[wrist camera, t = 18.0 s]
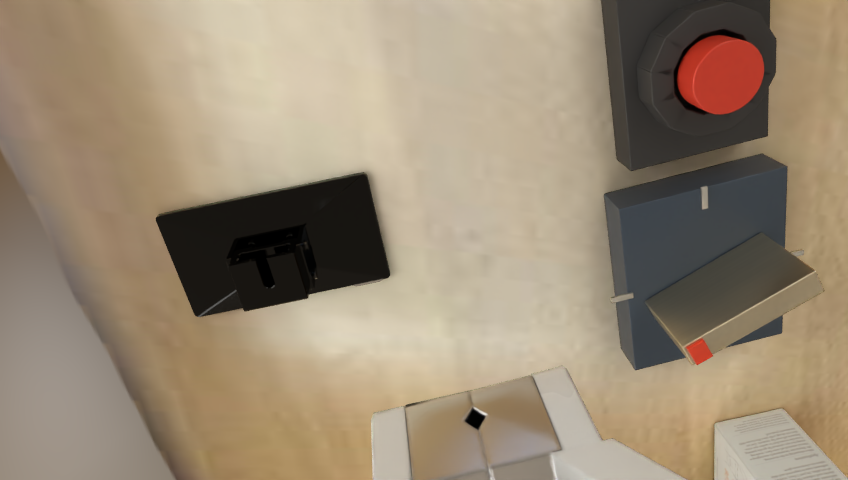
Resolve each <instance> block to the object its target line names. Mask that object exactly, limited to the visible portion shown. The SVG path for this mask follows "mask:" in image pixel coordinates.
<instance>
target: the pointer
mask: <svg viewBox="0 0 848 480" xmlns="http://www.w3.org/2000/svg"><path fill="white" fill-rule="evenodd" d="M822 292H824V288H823V286H822V284H821V281H820V279H819V277H818V274H817V272H816V271H815V270H814V269H813V268H811V267H810V266H808V265H807V264H806V263H804V262H803V261H801V260H800V259H799V258H797V257H796V256H794V255H793V254H791V253H790V252H789V251H787V250H786V249H784V248H783V247H782V246H780V245H779V244H777V243H776V242H775V241H773V240H772V239H770V238H769V237H768V236H766V235H765V234H763V233H762V232H761V233H759V234H757V235H756V236H754V237H752V238H751V239H749V240H747V241H746V242H744V243H742V244H741V245H739V246H737V247H735V248H734V249H732V250H730V251H729V252H727V253H725V254H724V255H722V256H720V257H719V258H717V259H715V260H714V261H712V262H710V263H708V264H707V265H705V266H703V267H702V268H700V269H698V270H697V271H695V272H693V273H692V274H690V275H688V276H687V277H685V278H683V279H681V280H680V281H678V282H676V283H675V284H673V285H671V286H670V287H668V288H666V289H665V290H663V291H661V292H660V293H658V294H656V295H654V296H653V297H651V298H649V299H648V300H646V301H645V303H646V305H647V306H648V308H649V310H650V311H651V313H652V315H653V316H654V318H655V319H656V320H657V322H658V323H659V324H660V325H661V327H662V328H663V329H664V330H665V332H666V333H667V334H668V335H669V337H670V338H671V339H672V341H673V342H674V343H675V344H676V346H677V347H678V348H679V349H680V351H681V352H682V353H683V354H684V356H685V357H686V358H687V359H688V361H689V362H690V363H691V364H692V365H695V364H697V365H698V364H700V363H702V362H704V361H705V360H707V359H709V358H711V357H712V356H713V355H712V354H714V353H716V352H718V351H720V350H721V349H723V348H725V347H727V346H728V345H730V344H732V343H734V342H736V341H737V340H739V339H741V338H743V337H744V336H746V335H748V334H750V333H751V332H753V331H755V330H757V329H759V328H760V327H762V326H764V325H766V324H767V323H769V322H771V321H773V320H774V319H776V318H778V317H780V316H782V315H783V314H785V313H787V312H789V311H790V310H792V309H794V308H796V307H797V306H799V305H801V304H803V303H805V302H806V301H808V300H810V299H812V298H813V297H815V296H817V295H819V294H821V293H822Z"/></svg>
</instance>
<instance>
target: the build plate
mask: <svg viewBox="0 0 848 480" xmlns="http://www.w3.org/2000/svg"><path fill="white" fill-rule="evenodd" d="M156 222H157V224H158V227H159V229H160V232H161V234H162V236H163V239H164V241H165V244H166V246H167V249H168V251H169V253H170V256H171V258H172V261H173V263H174V266H175V268H176V271H177V273H178V275H179V278H180V280H181V283H182V285H183V288H184V290H185V292H186V295H187V297H188V300H189V302H190V305H191V307H192V310H193V312H194V314H195V316H197V317H201V316H206V315H211V314H216V313H221V312H226V311H230V310H235V309H240V308H243V310H244V311H249V310H254V309H259V308H264V307H269V306H274V305H278V304H283V303H288V302H293V301H298V300H302V299H307V298H308V296H309V294H312V293H317V292H322V291H327V290H332V289H337V288H341V287H346V286H351V285H354V286H360V285H365V284H369V283H374V282H379V281H381V280H382V279H385V278H388V277H389V276H390V270H389V266H388V262H387V258H386V253H385V249H384V245H383V241H382V236H381V232H380V228H379V224H378V219H377V215H376V211H375V207H374V202H373V198H372V194H371V190H370V185H369V181H368V177H367V174H366V173H364V172H362V173H357V174H352V175H347V176H342V177H337V178H332V179H328V180H323V181H318V182H313V183H308V184H303V185H298V186H293V187H289V188H284V189H279V190H274V191H269V192H264V193H259V194H254V195H250V196H245V197H240V198H235V199H230V200H225V201H220V202H215V203H211V204H206V205H201V206H196V207H191V208H186V209H181V210H176V211H172V212H167V213H162V214H159V215H158V216H157V217H156Z"/></svg>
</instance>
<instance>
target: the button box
mask: <svg viewBox="0 0 848 480" xmlns="http://www.w3.org/2000/svg"><path fill="white" fill-rule="evenodd" d="M601 3H602V13H603V24H604V34H605V44H606V54H607V64H608V75H609V85H610V95H611V105H612V115H613V126H614V136H615V146H616V156H617V160H618V161H620V162H621V163H622V164H623V165H625V166H626V167H627V168H628V169H629V170H631V171H633V170H637V169H641V168H645V167H649V166H653V165H657V164H661V163H665V162H668V161H672V160H676V159H680V158H684V157H688V156H692V155H696V154H700V153H704V152H708V151H712V150H715V149H719V148H723V147H727V146H731V145H735V144H739V143H743V142H747V141H751V140H755V139H758V138H762V137H766V136H768V94H769V85H770V84H771V82H772V80H773V78H774V76H775V73H776V38H775V36H774V35H773V33H772V32H771V30H770V0H601ZM714 35H724V36H728V37H732V38H736V39H740V40H744V41H747V42H749V43H751V44H753V45H754V46H755V47H756V48H757V49H758V50H759V52H760V54H761V55H762V58H763V62H764V76H763V80H762V83H761V85H760V88H759V89H758V91H757V93H756V94H755V96H754V97H753V98H752V99H751V100H750V101H749V102H748V103H747V104H746V105H745V106H743V107H742V108H740V109H738V110H736V111H734V112H731V113H728V114H712V113H709V112H706V111H704V110H702V109H700V108H698V107H696V106H694V105H692V104H690V103H688V102H687V101H686V100H685V99H684V98H683V97H682V95H681V94H680V91H679V89H678V84H677V73H678V68H679V65H680V63H681V61H682V59H683V57H684V55H685V54H686V53H687V51H688V50H689V49H690V48H691V47H692V46H693V45H695V44H696V43H697V42H699V41H700V40H702V39H704V38H707V37H710V36H714Z"/></svg>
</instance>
